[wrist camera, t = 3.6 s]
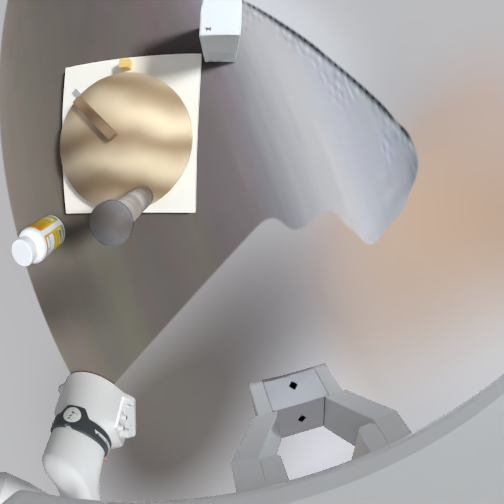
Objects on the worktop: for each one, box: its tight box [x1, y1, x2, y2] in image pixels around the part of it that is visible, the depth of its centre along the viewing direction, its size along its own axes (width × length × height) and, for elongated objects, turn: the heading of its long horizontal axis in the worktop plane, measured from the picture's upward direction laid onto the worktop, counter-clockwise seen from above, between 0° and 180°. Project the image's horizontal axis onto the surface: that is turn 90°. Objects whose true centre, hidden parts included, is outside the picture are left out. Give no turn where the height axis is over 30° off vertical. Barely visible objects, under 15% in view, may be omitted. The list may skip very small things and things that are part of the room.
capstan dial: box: [60, 72, 193, 246], centre depth 30 cm, size 19×19×14 cm
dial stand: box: [62, 54, 202, 214], centre depth 36 cm, size 22×20×4 cm
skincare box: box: [199, 0, 242, 62], centre depth 29 cm, size 6×4×12 cm
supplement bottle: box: [12, 215, 65, 266], centre depth 37 cm, size 5×5×10 cm
